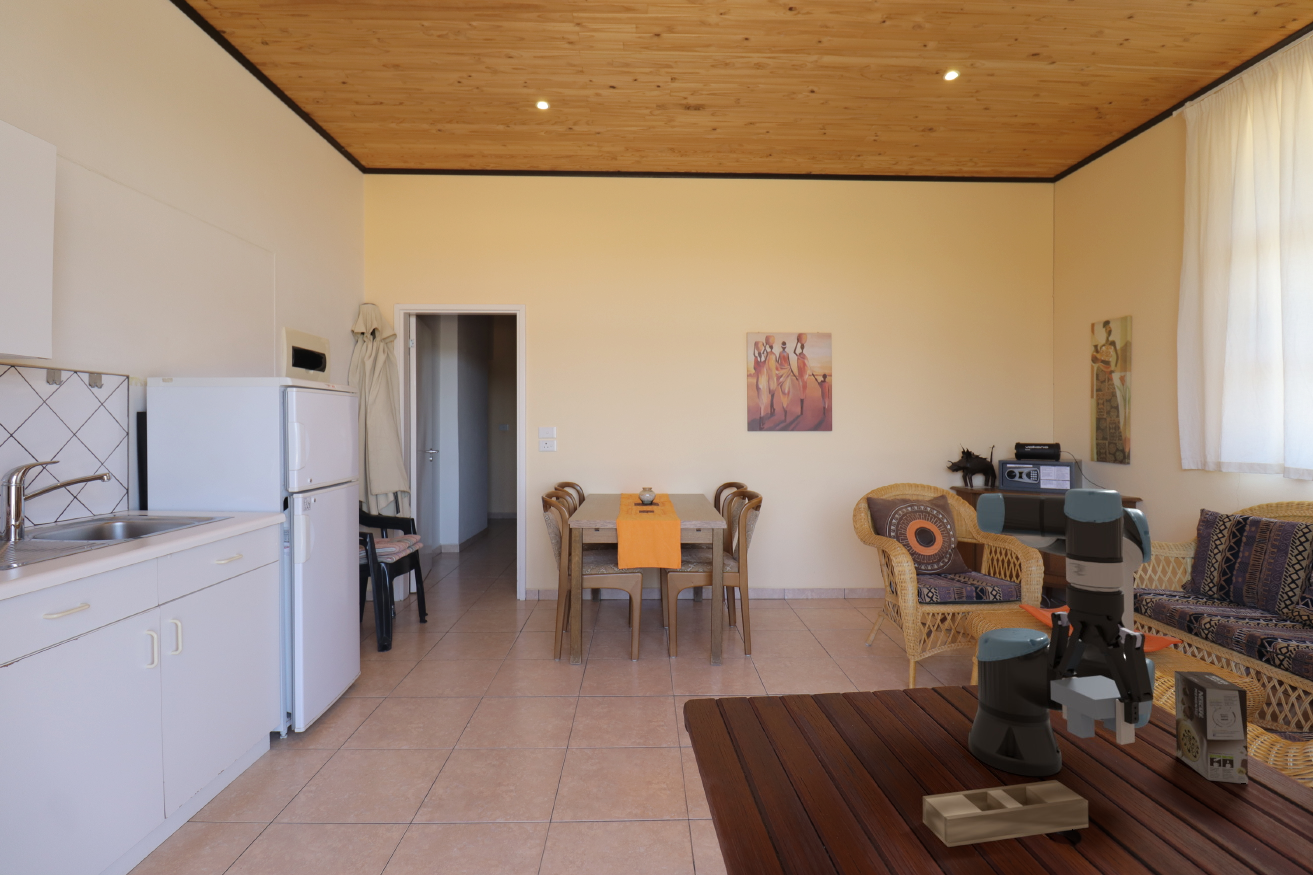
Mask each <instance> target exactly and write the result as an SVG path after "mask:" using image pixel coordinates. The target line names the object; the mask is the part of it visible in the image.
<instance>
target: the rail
mask: <svg viewBox="0 0 1313 875" xmlns="http://www.w3.org/2000/svg"><path fill="white" fill-rule="evenodd" d="M922 823H924V825H925V826H926V827H927V828H928V829H929V830H930V831H932V832H933V834H934V835H935V836H936V837H937V838H939V840H941V841H942V842H943V844H944V845H945V846H947V848H951V847H957V846H964V845H972V844H981V843H986V842H994V841H1001V840H1007V839H1009V840H1010V839H1014V838H1022V837H1029V836H1035V835H1043V834H1050V833H1058V832H1064V831H1065V832H1066V831H1072V829H1073V830H1078V829H1086V828H1089V800H1087V799H1086V798H1084V797H1083V796H1081V795H1079V794H1078V793H1077V792H1075V791H1073V789H1071V788H1069V787H1067V786H1066V785H1064V784H1063V783H1061V782H1059V780H1056V779H1054V780H1045V781H1037V782H1029V783H1020V784H1019V783H1018V784H1012V785H1004V786H996V787H989V788H980V789H972V790H971V789H970V790H963V791H962V790H961V791H955V792H946V793H939V794H931V795H930V794H929V795H923V796H922Z"/></svg>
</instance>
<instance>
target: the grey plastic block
mask: <svg viewBox="0 0 1313 875" xmlns="http://www.w3.org/2000/svg"><path fill="white" fill-rule="evenodd" d="M1120 698H1121V696H1120V694H1119V691H1118V689H1117V686H1116V684H1115V681H1114V680H1111V679H1109V678H1106V677H1103V676H1091V677H1082V678H1072V679H1062V680H1053V681H1051V699H1052V700H1054V701H1056V702H1058V703H1060V704H1062V705H1065V706H1067V720H1066V722H1067V724H1066V727H1067V728H1066V729H1067V733H1070V734H1072V735H1075V736H1076V737H1078V738H1080V739H1086V738H1095V736H1096V733H1095V730H1096V729H1095V721H1100V720H1099V719H1103V721H1102V722H1103V728H1106V729H1108V730H1109V731H1110V730H1111V731H1112V732H1115V733H1116V699H1120ZM1148 713H1149V701H1147V702H1141V703H1139V715H1140V714H1148Z"/></svg>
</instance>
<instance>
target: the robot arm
mask: <svg viewBox="0 0 1313 875" xmlns="http://www.w3.org/2000/svg"><path fill="white" fill-rule="evenodd" d="M1122 503H1123V500H1122V495H1121V493H1120V492H1119V491H1118V490H1114V489H1109V488H1071V489H1068V490H1067V491H1066V492H1065V495H1034V494H1033V495H1031V494H1013V493H1001V492H996V493H982V494H980V496H979V497H978V499H977V502H976V521H977V522H976V525H977V527H978V529H979V531H981V532H983V533H989V534H993V535H1008V536H1012V537H1015V539H1016V540H1017V541H1018V542H1019V543H1021V544H1022V545H1025V546H1027V547H1029V548H1033V549H1035V550H1038V551H1041V552H1045V553H1048V554H1053V555H1057V556H1063V557H1064V556H1065V573H1066V575H1065V578H1066V579H1065V580H1066V581H1067V582H1068V584H1067V585H1066V586H1065V595H1066V602H1065V603H1066V606H1067V607H1068V609H1069V610H1068V612H1067V611H1055V612H1051V613H1050V619H1051V625H1052V626H1051V627H1052V628H1051V633H1050V634H1051V635H1050V638H1049V636H1048V634H1047V632H1044V631H1041V630H1036V629H1032V628H1025V627H1002V628H994V629H991V630H990V629H989V630H987V631H984V632H983V633H982V634H981V635H980V636H979V638H978V642H977V654H976V660H977V690H978V692H977V698H978V699H977V700H978V701H977V702H978V703H977V705H978V707H977V711H976V714H975V717H974V721H973V723H972V727H971V728H970V730H969V732H968V750H969V751H970V753H971V754H972V755H973V756H974V757H975V758H976V759H978V760H979V761H981V762H983V763H984V764H986V765H988V766H991V767H993V768H995V769H998V770H1000V771H1004V772H1006V773H1011V774H1015V775H1021V776H1027V777H1047V776H1052V775H1053V776H1054V775H1055V774H1057V773H1059V772H1060V771H1061V770H1062V762H1063V761H1062V760H1063V759H1062V752H1061V748H1060V747H1059V745H1058V741H1057V737H1056V735H1055V732H1054V730H1053V726H1052V724H1051V721H1050V720H1051V719H1050V710H1052V711H1055V712H1056V711H1057V712H1060V713H1062V719H1064V720H1066V721H1067V706H1065V705H1062V704H1060V703H1058V702H1056V701H1054V700H1052V699H1051V681H1053V680H1062V679H1072V678H1082V677H1091V676H1103V677H1106V678H1109V679H1111V680H1114V681H1115V684H1116V686H1117V689H1118V691H1119V694H1120V696H1121V698H1120V699H1116V732H1115V734H1116V736H1115V737H1116V739H1115V740H1116V743H1117V744H1119V745H1123V746H1124V745H1127V744H1132V743H1135V742H1136V736H1135V734H1136V733H1135V730H1136V729H1138V728H1143V727H1145V726H1146V725H1147V724H1148V723H1149V722H1150V717H1151V714H1152V709H1153V703H1154V690H1155V685H1156V684H1155V683H1156V682H1155V681H1156V664H1155V662H1154V661H1153V660H1152V659H1150V658H1147V657H1146V654H1145V649H1144V648H1145V641H1146V635H1145V633H1143V632H1141V631H1140V632H1135V630H1134V629H1135V626H1134V625H1135V624H1134V623H1135V622H1134V615H1135V614H1134V612H1135V611H1134V604H1135V603H1134V601H1135V600H1134V593H1135V592H1134V590H1135V589H1134V577H1135V576H1134V575H1135V574H1134V573H1135V572H1137V571H1138V570H1139V569H1140V568H1141V566H1142V564H1147V563H1150V561H1151V560H1152V541H1151V535H1150V527H1149V523H1148V522H1149V521H1148V519H1147V516H1146V515H1145V513H1144V512H1143V511H1142V510H1140V509H1138V508H1130V507H1123V504H1122ZM1071 627H1072V631H1071V632H1070V630H1071ZM1147 701H1149V713H1148V714H1140V715H1139V703H1141V702H1147ZM1098 721H1100V722H1103V719H1099V720H1098Z"/></svg>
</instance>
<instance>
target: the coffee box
mask: <svg viewBox="0 0 1313 875" xmlns="http://www.w3.org/2000/svg"><path fill="white" fill-rule="evenodd" d="M1247 693H1248V690H1247V689H1245V688H1243V687H1241V686H1239V685H1238V684H1235V683H1233V682H1231V681H1229V680H1227V679H1226V678H1223V677H1221V676H1219V675H1217V674H1216V673H1213V672H1210V671H1181V670H1174V705H1175V707H1174V709H1175V736H1176V737H1175V738H1176V739H1175V741H1176V742H1175V743H1176V757H1178V758H1179V759H1180V760H1181V761H1183V762H1184V763H1185V764H1186V765H1188V766H1189V767H1190V768H1192V769H1193V770H1195V772H1197V773H1198V774H1200V775H1201V776H1202V777H1203V778H1205V779H1206V780H1208V781H1212V782H1213V781H1214V782H1223V783H1224V782H1225V783H1233V784H1241V783H1246V784H1245V785H1248V783H1249V768H1248V767H1249V762H1248V761H1249V758H1248V757H1249V756H1248V755H1249V752H1248V701H1247V700H1248V697H1247V696H1248V695H1247Z"/></svg>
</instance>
